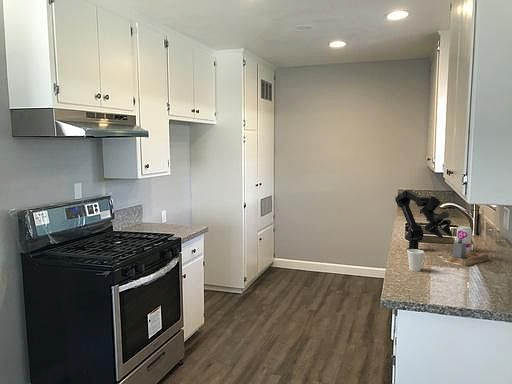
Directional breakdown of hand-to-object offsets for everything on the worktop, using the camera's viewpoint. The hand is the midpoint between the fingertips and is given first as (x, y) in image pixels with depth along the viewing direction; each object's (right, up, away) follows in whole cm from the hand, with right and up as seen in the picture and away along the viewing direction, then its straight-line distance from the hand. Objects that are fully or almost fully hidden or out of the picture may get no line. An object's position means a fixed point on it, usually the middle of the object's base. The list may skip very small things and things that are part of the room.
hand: (447, 237), depth 242 cm
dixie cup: (-25, -15, -18) cm, 35 cm away
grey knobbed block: (+4, -13, -5) cm, 15 cm away
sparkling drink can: (+20, -11, +23) cm, 33 cm away
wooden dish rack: (+9, -14, -2) cm, 16 cm away
